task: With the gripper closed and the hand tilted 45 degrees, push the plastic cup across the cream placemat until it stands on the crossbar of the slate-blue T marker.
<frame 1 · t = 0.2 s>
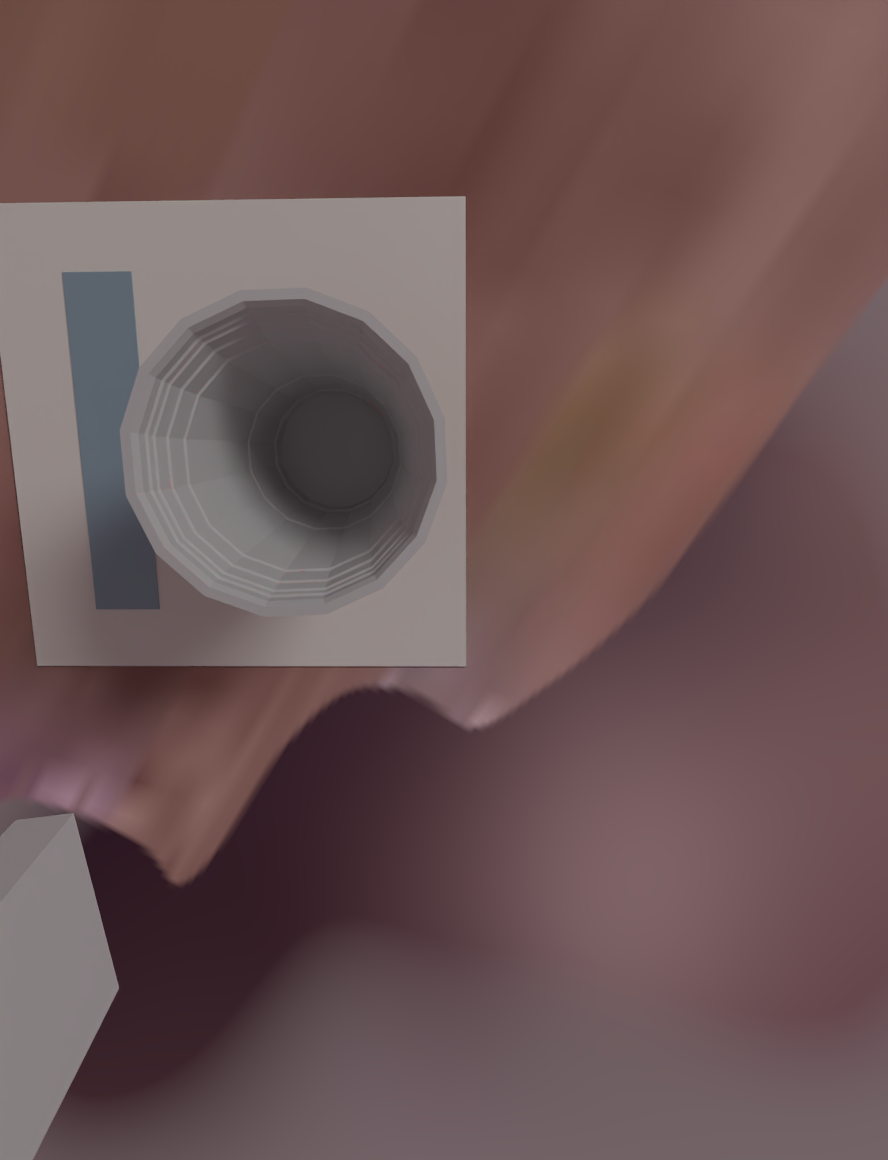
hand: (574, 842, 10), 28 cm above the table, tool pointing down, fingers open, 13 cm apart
placemat: (237, 447, 37), on the table
plastic cup: (340, 446, 37), resting on placemat
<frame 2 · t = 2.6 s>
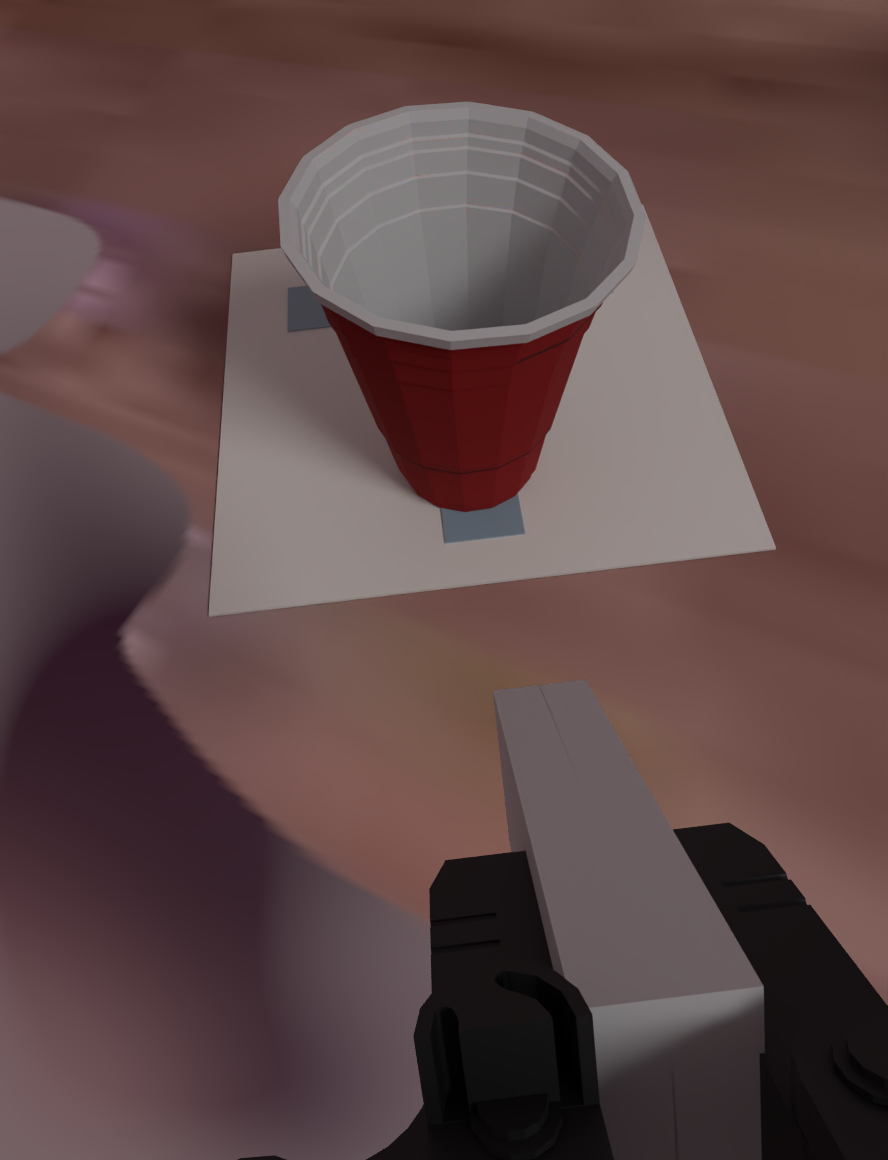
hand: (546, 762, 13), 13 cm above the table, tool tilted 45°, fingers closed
placemat: (460, 378, 35), on the table
plastic cup: (473, 463, 33), resting on placemat
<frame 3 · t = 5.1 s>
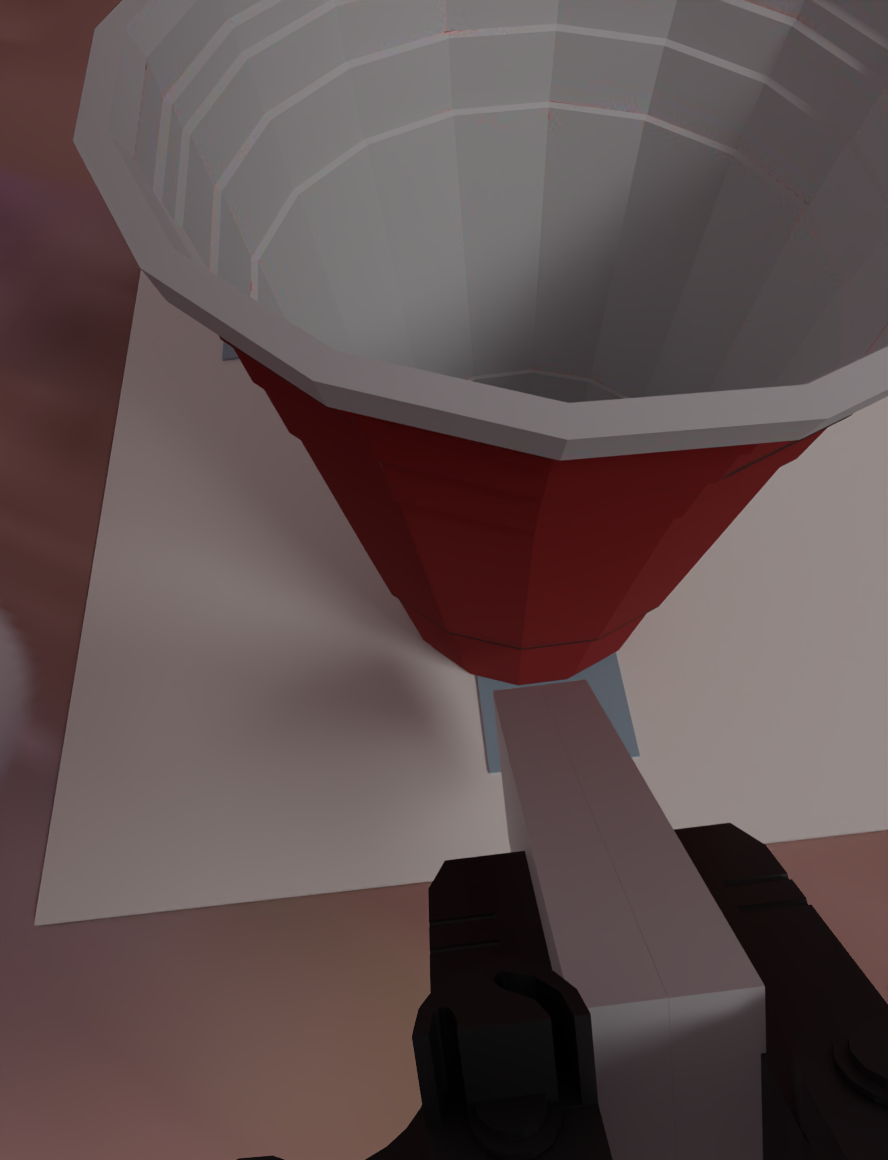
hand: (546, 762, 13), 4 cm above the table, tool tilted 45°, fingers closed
placemat: (506, 444, 21), on the table
plastic cup: (530, 585, 19), resting on placemat, touching gripper
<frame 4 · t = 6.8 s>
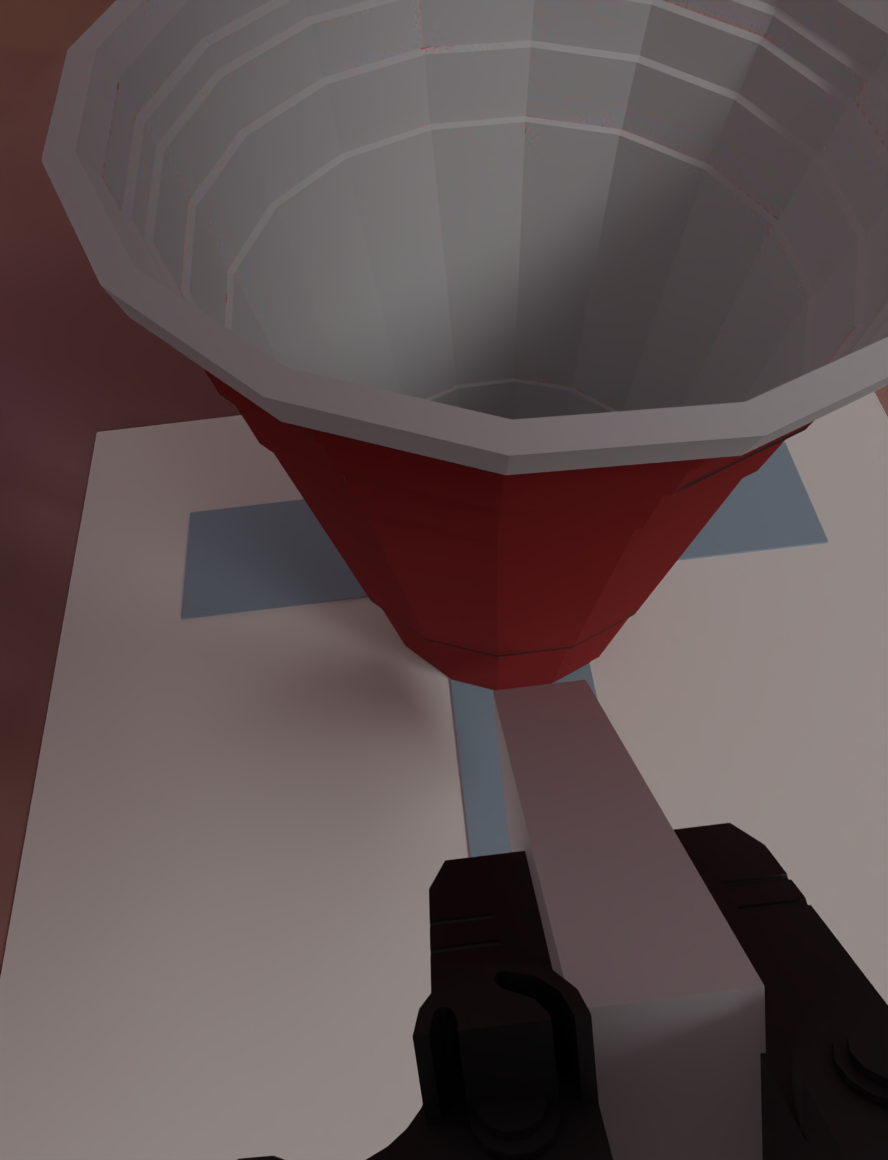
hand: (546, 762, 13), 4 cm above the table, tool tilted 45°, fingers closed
placemat: (533, 755, 17), on the table
plastic cup: (514, 592, 19), resting on placemat, touching gripper
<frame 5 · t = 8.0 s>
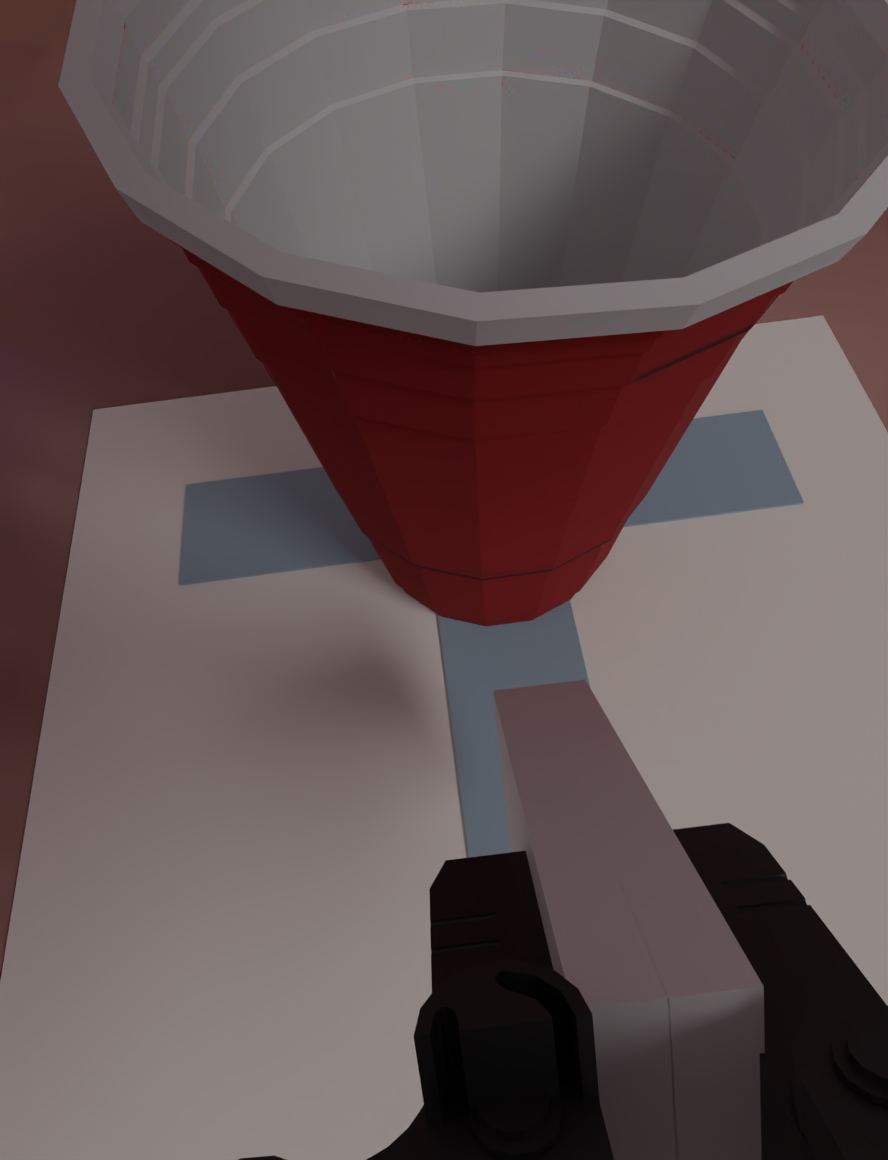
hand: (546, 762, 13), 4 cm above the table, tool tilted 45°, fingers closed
placemat: (521, 708, 17), on the table
plastic cup: (499, 536, 20), resting on placemat
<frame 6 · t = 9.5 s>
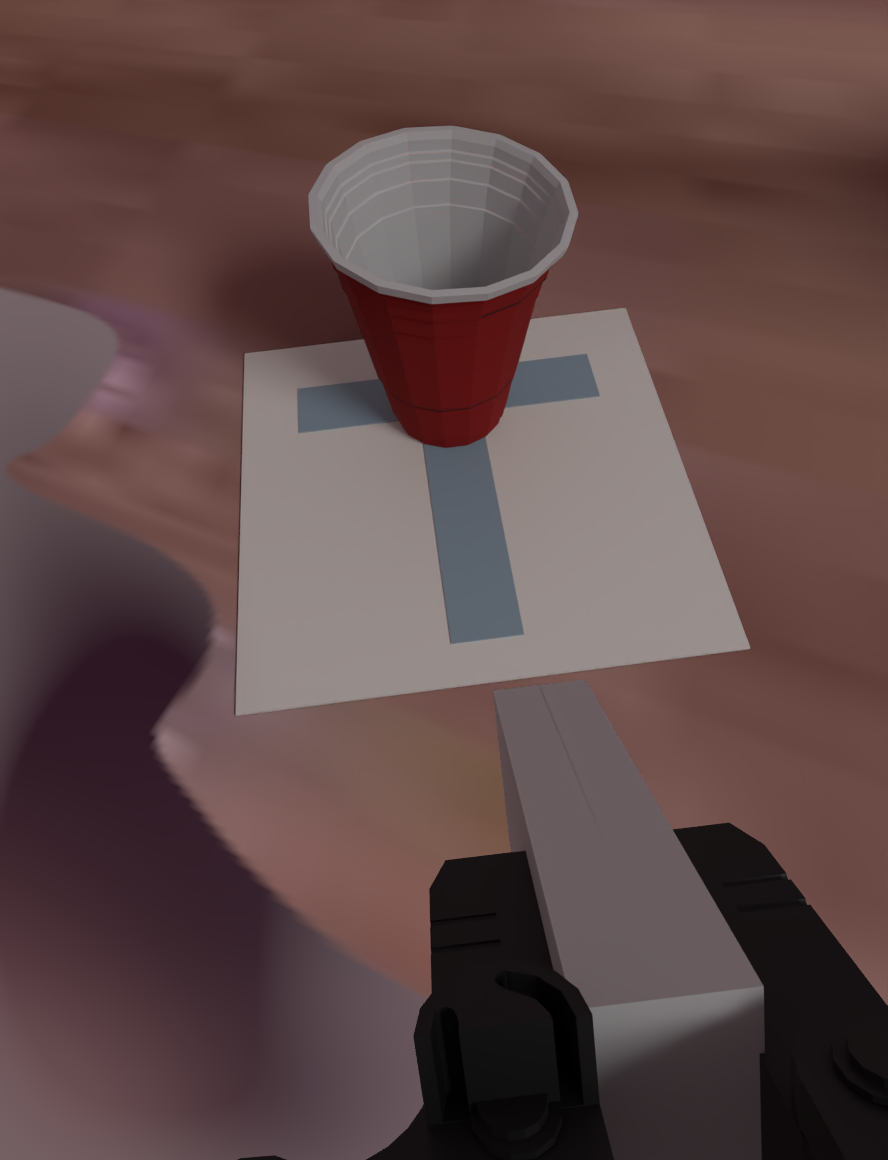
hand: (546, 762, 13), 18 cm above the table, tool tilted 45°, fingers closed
placemat: (461, 480, 38), on the table
plastic cup: (453, 411, 41), resting on placemat
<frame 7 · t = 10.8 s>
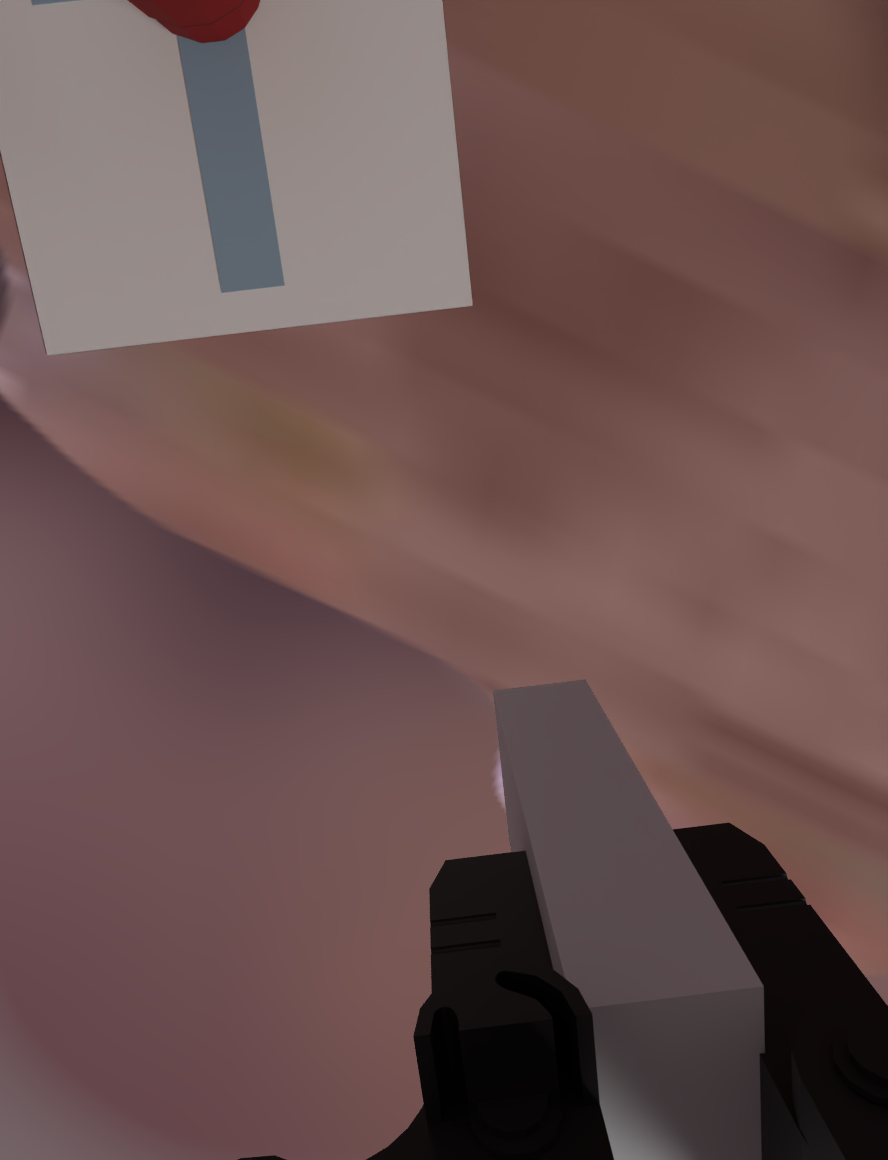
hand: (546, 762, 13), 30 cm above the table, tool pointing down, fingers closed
placemat: (221, 92, 37), on the table
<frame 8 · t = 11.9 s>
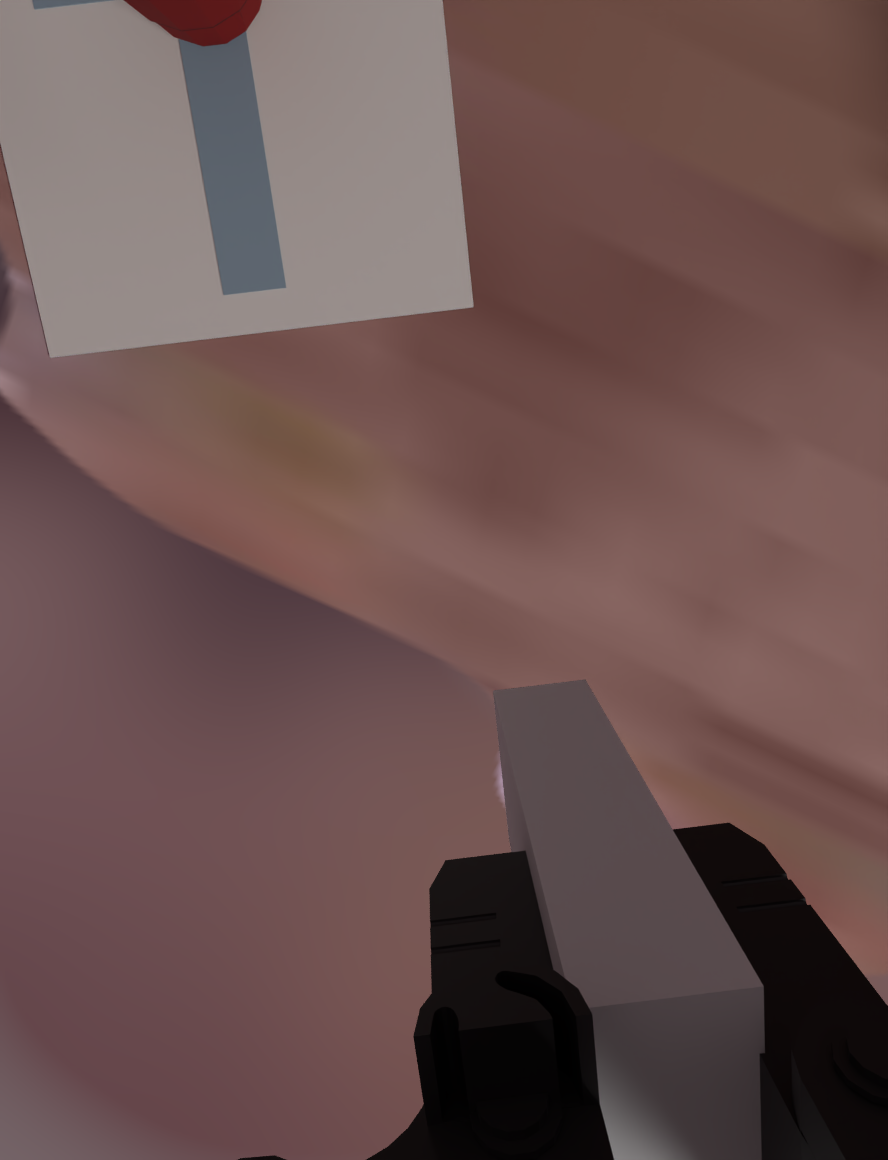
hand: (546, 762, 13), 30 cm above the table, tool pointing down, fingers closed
placemat: (223, 95, 37), on the table
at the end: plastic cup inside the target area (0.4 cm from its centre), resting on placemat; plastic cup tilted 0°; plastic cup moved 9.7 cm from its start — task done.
